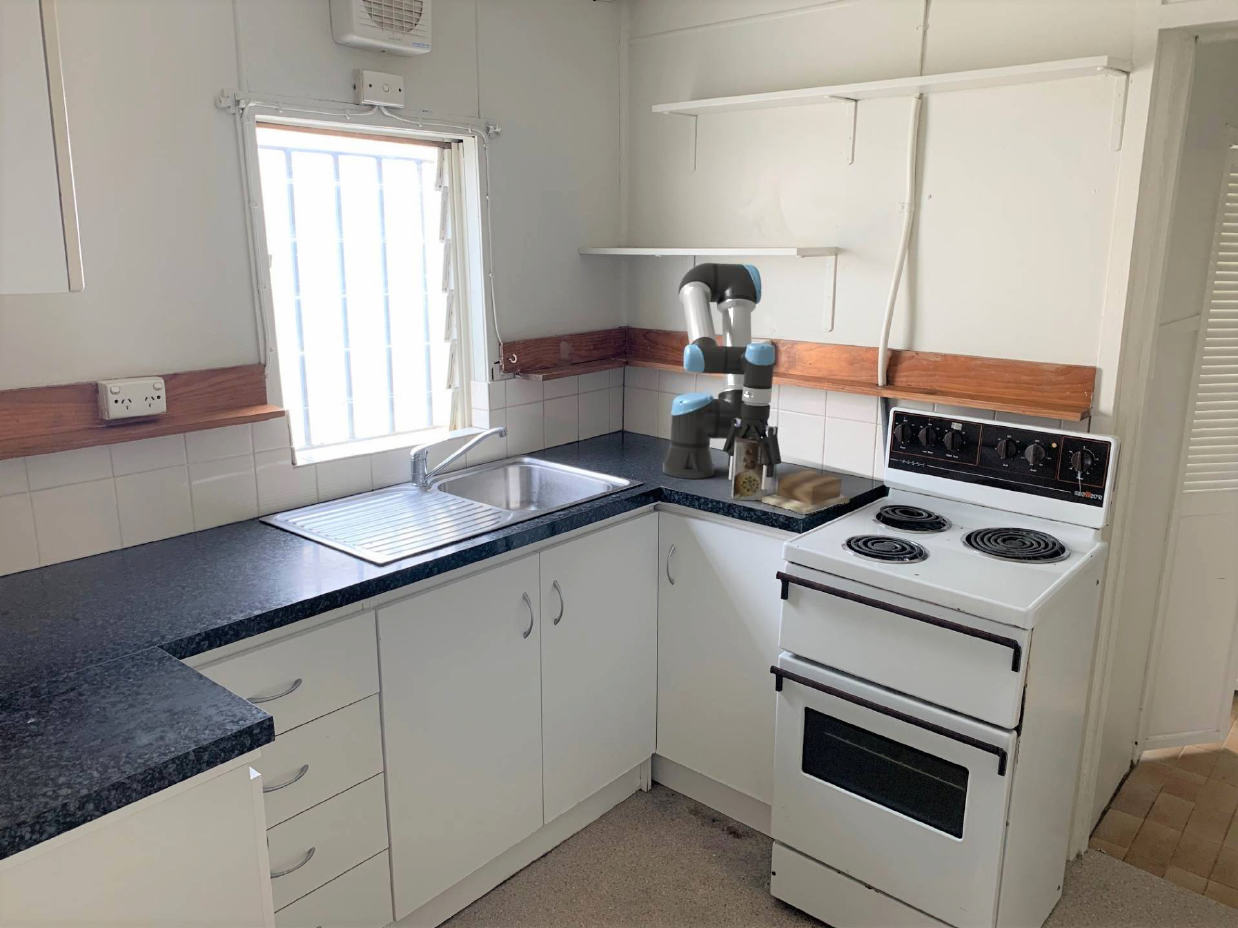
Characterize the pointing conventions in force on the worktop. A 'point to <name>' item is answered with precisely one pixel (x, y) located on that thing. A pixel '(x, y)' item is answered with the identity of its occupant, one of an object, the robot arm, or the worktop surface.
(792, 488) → the base block
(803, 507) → the board
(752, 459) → the cookie box
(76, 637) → the worktop surface
